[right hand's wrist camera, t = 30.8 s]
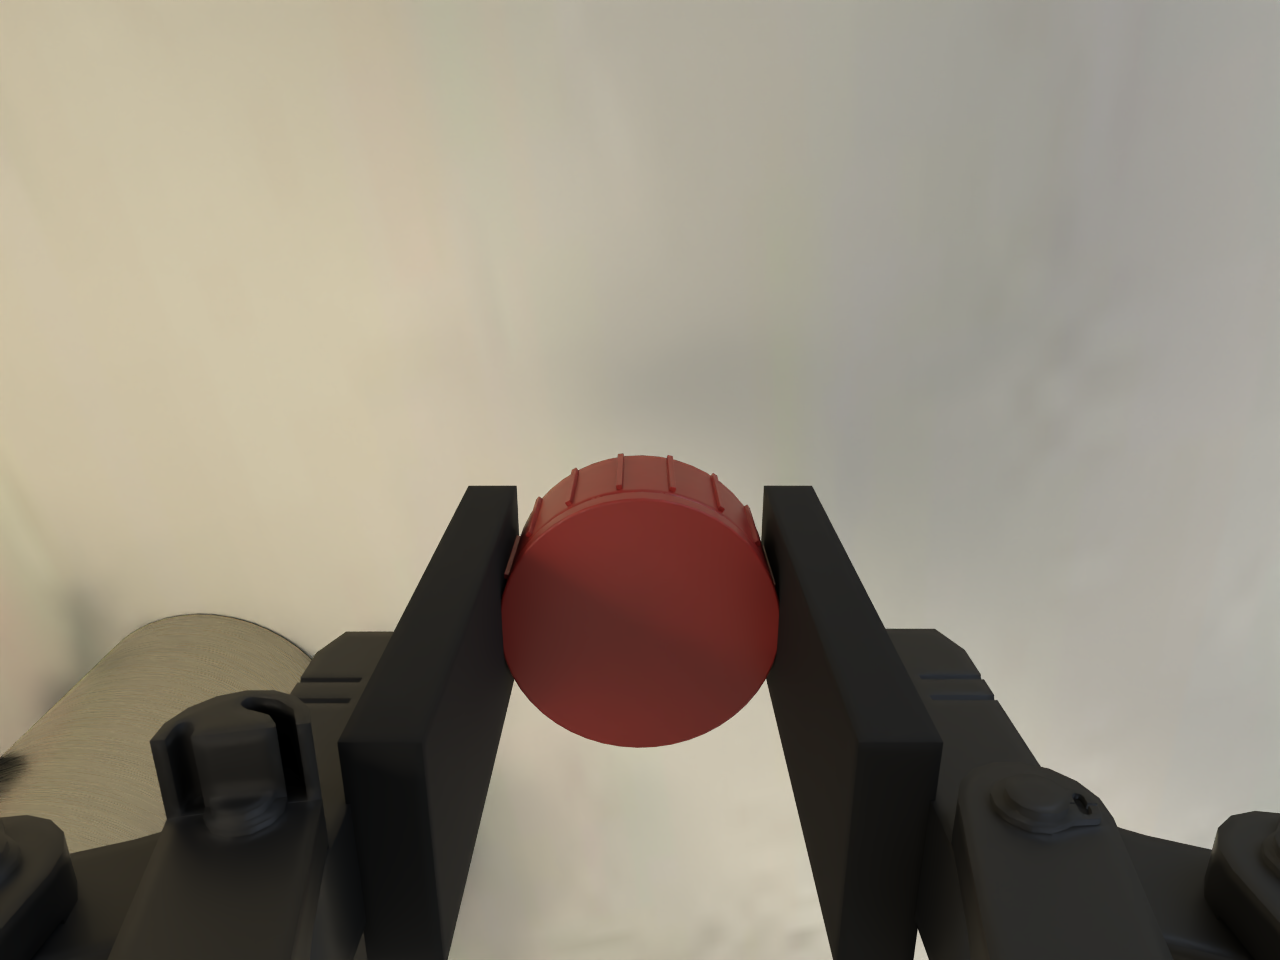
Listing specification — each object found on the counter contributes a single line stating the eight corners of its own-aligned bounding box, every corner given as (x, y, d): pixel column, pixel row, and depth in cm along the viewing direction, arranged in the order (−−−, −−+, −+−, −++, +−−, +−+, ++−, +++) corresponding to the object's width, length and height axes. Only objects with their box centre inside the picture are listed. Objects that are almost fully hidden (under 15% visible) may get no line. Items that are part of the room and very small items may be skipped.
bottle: (185, 854, 32) (-319, 1642, 15) (41, 667, 29) (-765, 1375, 12) (393, 778, 30) (97, 1541, 14) (263, 576, 28) (-296, 1224, 11)
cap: (701, 713, 15) (710, 788, 14) (476, 629, 15) (453, 695, 13) (811, 511, 14) (836, 563, 12) (569, 410, 13) (558, 450, 12)
